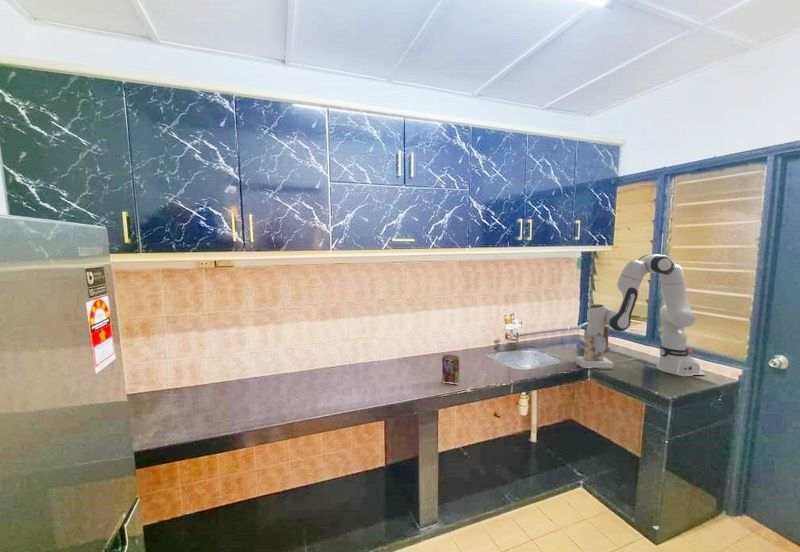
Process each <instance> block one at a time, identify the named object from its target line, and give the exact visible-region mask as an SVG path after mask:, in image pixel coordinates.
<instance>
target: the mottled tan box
mask: <svg viewBox="0 0 800 552" xmlns="http://www.w3.org/2000/svg"><path fill="white" fill-rule="evenodd" d="M593 339H594V338H593V337H590V336H585V340H584V348H583V349H584V350H583V351H584V352H583V357H584V360H585V361H603V357H604V353H605V352H604V351H600V350H599V351H598V354H597V355H596V354H594V351H595V347H593Z"/></svg>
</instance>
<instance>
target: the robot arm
mask: <svg viewBox="0 0 800 552" xmlns="http://www.w3.org/2000/svg"><path fill="white" fill-rule="evenodd" d="M649 273H650V274H658V275H659V278H660V287H661V289H660V290H661V295H662V299H663V301H664V303H665V304H664V305H662V306H661V307H660V309H659V314H660V318H661V319H660V320H661V321H660V322H661V328H662V329H661V330H662V335H661V345H660V346H659V347H660V349H659V353H660V354H659V359H658V362H657V364H656V366H655V368H656V369H657V370H658V371H661V372H664V373H668V374H672V375H676V376H679V377H694V376H693V375H704V376H706V373H705V372H704V371H703V370H701V367H700V363H699V362H698V361H697V360H696V359H694V358H693V357H691V356H690V355H692V354H694V351H693V350H692V349H687V348H686V347H687V338H688V335H687V332H686V328H689V327H692V326H693V325H694V323H695V322H696V317H695V315H694V313H693V310H692V308H691V305H690V301H689V298H688V295H687V285H686V278H685V274H684V271H683V269H682V267H681V265H679V264H676V263H674V261H673V259H672V258H671V257H669V256H667V255H665V254H655V253H654V254H646V255H643V256H641V257H639V258H638V259H637V260H636V259H635V260H629V261H628V262H627V264H626V265H625V266H624V268H623V270H622V271H621V274H620V275H619V277H618V279H617V284H616V285H617V288H618V290H619V291H620V293H621V295H622V300H621V303H620V306H619V308H618V311H616V310H613V309H610V308H608V307H606V306H605V305H603V304H597V303H596V304H593V305H590V307H589V309H588V314H587V320H588V323H587V325H586V326H583V330H584V331H583V333H584V334H583V338H584V341H585V336H590V337H593V338H594V339H593V347H595V351H594V354H596V355H597V354H598V351H599V350H600V351H605V349H606V340H605V338H604V337H603V335H604V326H609V328H612V329H613V330H614V331H616V332H623V331H626V330H627V329H629V328H630V327H631V322H632V321H631V318H632V313H633V311H634V308H635V307H636V306H635V305H636V303H637V299H638V296H639V289H640V286H641V283H642V281H643V280H644V277H645V276H646V275H647V274H649Z"/></svg>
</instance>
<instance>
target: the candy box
mask: <svg viewBox="0 0 800 552" xmlns="http://www.w3.org/2000/svg"><path fill="white" fill-rule="evenodd" d="M460 359H461V358H460V355H454V354H442V358H441V360H442V362H441V363H442V364H441V365H442V366H441V369H442V374H441V375H442V376H441V377H442V378H441V381H444V382H453V383H458V382H459V383H460Z"/></svg>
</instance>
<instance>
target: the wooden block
mask: <svg viewBox="0 0 800 552" xmlns="http://www.w3.org/2000/svg"><path fill="white" fill-rule="evenodd" d="M609 333H610V326H608V325H605V326H604V335H603V337H604V338H605V340H606V349H605V351H604V353H609V351H610V347H609V337H610V336H609V335H610V334H609Z"/></svg>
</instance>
